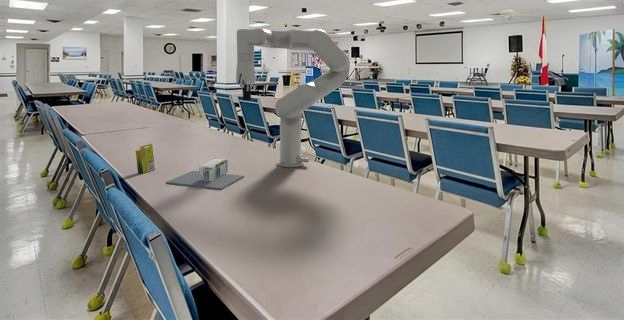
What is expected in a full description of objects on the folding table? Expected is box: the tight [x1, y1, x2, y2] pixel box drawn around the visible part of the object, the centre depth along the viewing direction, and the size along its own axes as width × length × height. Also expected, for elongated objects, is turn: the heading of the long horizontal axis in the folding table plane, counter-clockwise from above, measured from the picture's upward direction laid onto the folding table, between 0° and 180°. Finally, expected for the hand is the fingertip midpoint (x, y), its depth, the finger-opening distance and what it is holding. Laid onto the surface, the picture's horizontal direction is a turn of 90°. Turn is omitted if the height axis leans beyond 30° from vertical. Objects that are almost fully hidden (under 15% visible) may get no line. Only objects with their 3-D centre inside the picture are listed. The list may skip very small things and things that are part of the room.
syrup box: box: [198, 158, 229, 181], centre depth 161 cm, size 6×6×14 cm
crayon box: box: [135, 143, 156, 175], centre depth 169 cm, size 7×3×12 cm, turn 160°
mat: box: [165, 170, 245, 191], centre depth 158 cm, size 24×18×1 cm
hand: (246, 100), depth 182 cm, fingers closed
